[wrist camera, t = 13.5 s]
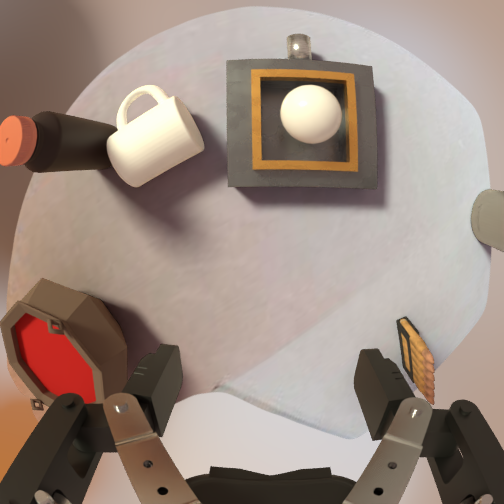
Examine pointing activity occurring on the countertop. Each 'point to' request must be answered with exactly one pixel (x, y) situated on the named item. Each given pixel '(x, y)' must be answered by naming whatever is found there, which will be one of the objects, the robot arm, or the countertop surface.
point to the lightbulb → (311, 114)
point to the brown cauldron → (65, 345)
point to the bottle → (54, 143)
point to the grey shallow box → (280, 141)
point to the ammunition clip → (416, 358)
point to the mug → (152, 138)
